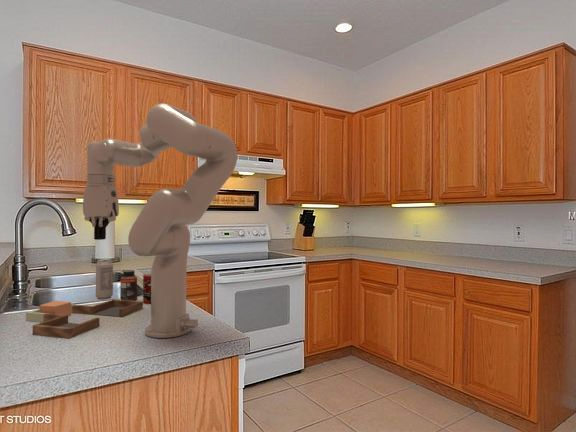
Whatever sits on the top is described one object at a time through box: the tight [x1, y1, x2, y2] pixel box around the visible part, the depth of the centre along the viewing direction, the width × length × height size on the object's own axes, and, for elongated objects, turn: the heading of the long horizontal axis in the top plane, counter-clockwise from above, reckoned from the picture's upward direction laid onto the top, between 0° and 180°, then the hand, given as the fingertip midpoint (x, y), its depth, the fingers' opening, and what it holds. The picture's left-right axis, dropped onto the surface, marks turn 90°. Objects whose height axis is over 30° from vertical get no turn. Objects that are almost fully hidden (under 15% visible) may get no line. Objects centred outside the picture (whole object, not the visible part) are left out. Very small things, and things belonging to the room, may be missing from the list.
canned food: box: [142, 271, 151, 305], centre depth 138 cm, size 8×8×11 cm
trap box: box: [25, 299, 144, 339], centre depth 115 cm, size 26×32×2 cm
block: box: [39, 300, 72, 317], centre depth 117 cm, size 6×6×4 cm
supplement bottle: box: [120, 269, 138, 301], centre depth 141 cm, size 6×6×11 cm
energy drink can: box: [95, 258, 114, 301], centre depth 143 cm, size 6×6×15 cm
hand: (99, 239), depth 116 cm, fingers closed
